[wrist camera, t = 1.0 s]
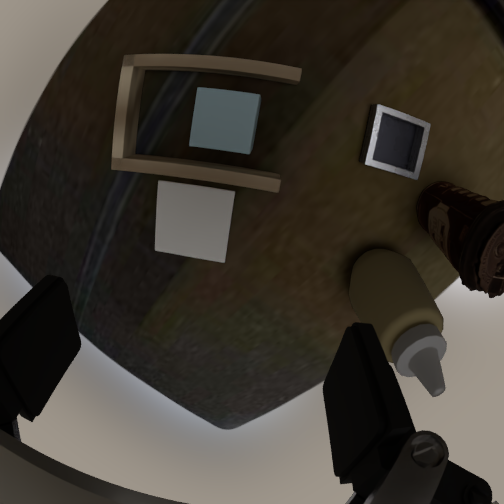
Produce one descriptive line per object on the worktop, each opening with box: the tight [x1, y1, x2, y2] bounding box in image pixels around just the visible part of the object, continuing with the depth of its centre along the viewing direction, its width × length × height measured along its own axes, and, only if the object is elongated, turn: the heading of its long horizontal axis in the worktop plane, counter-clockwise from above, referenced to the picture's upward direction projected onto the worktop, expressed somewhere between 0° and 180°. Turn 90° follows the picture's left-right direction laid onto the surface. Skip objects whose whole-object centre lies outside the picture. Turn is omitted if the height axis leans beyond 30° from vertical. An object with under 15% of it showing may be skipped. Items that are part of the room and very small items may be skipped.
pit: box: [359, 104, 431, 180], centre depth 25 cm, size 6×6×2 cm
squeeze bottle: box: [349, 249, 447, 397], centre depth 24 cm, size 8×8×18 cm
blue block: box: [189, 87, 261, 154], centre depth 24 cm, size 5×5×5 cm
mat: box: [155, 180, 235, 263], centre depth 31 cm, size 8×8×1 cm
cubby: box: [111, 54, 302, 193], centre depth 25 cm, size 11×16×3 cm
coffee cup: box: [417, 182, 504, 298], centre depth 23 cm, size 9×8×13 cm
